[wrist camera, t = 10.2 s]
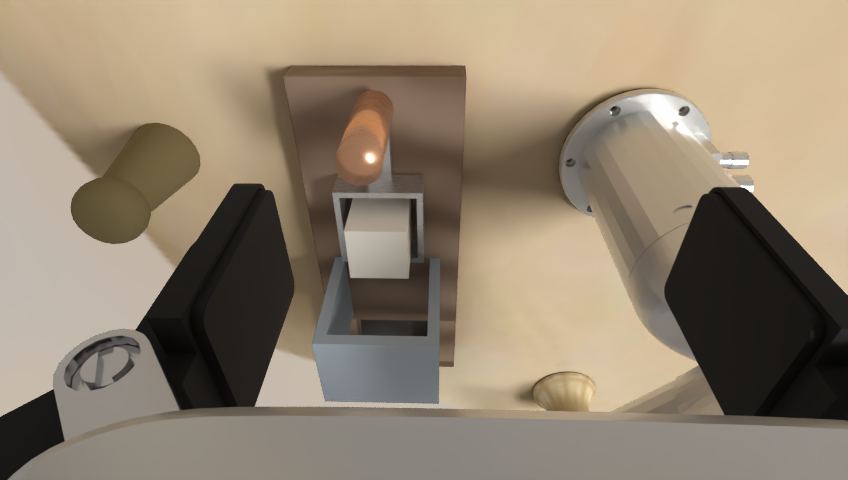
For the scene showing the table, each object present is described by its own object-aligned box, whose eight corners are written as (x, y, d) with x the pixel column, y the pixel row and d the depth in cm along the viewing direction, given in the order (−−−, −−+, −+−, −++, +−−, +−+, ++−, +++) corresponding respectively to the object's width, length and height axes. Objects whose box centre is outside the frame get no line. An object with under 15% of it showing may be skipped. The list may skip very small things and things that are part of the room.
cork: (185, 193, 47) (126, 268, 38) (122, 157, 45) (45, 228, 36) (211, 150, 44) (154, 220, 35) (145, 109, 42) (67, 174, 33)
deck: (453, 350, 60) (453, 366, 58) (341, 348, 60) (337, 364, 58) (465, 65, 38) (466, 76, 36) (291, 65, 39) (283, 76, 37)
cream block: (410, 191, 43) (406, 231, 38) (412, 236, 46) (408, 278, 41) (354, 191, 43) (343, 231, 38) (359, 235, 46) (350, 277, 41)
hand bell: (605, 375, 62) (646, 505, 50) (582, 411, 67) (614, 537, 55) (543, 367, 62) (569, 496, 49) (524, 404, 67) (543, 530, 54)
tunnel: (439, 314, 53) (438, 403, 44) (344, 313, 53) (325, 401, 44) (439, 258, 48) (439, 346, 39) (335, 257, 48) (311, 343, 39)
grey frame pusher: (424, 242, 46) (420, 317, 38) (347, 241, 46) (328, 315, 39) (422, 85, 37) (417, 143, 29) (326, 85, 37) (295, 142, 29)
